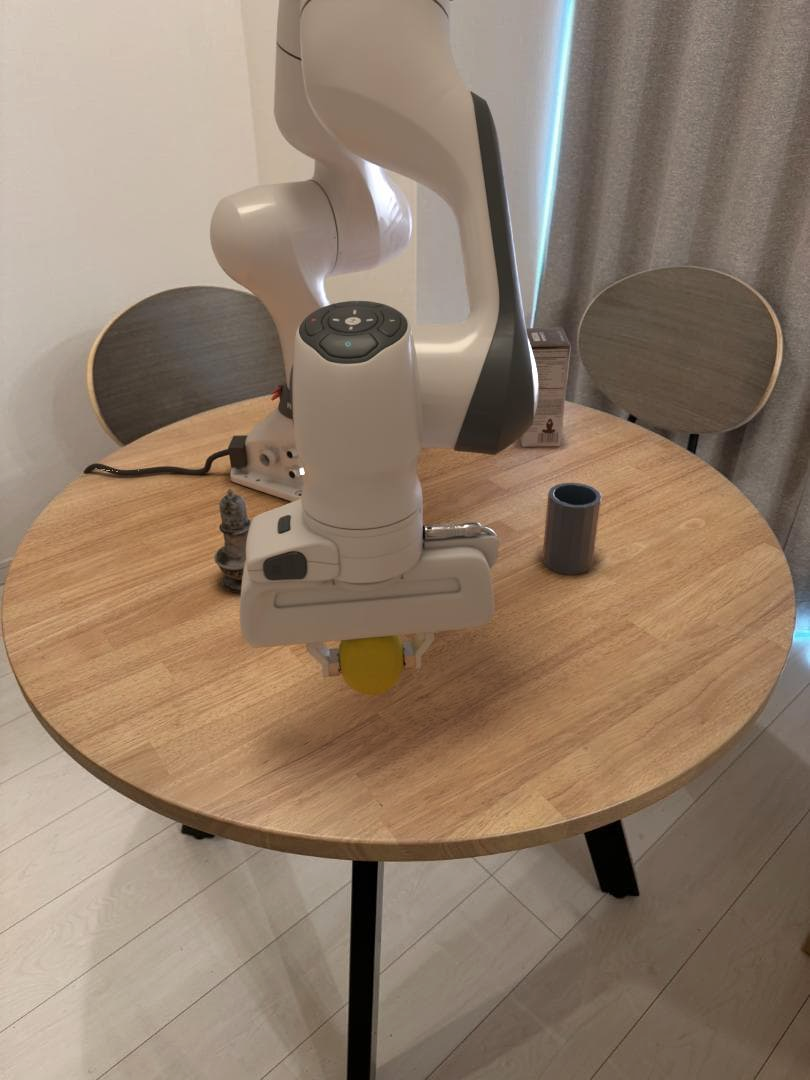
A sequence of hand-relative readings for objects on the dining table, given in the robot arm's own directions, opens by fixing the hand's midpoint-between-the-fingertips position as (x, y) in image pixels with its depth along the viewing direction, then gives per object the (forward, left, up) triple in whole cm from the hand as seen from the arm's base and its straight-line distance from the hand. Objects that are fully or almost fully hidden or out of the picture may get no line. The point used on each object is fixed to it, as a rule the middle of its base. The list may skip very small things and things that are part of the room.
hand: (371, 667), depth 63 cm
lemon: (0, 0, -3) cm, 3 cm away
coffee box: (-1, +66, -7) cm, 66 cm away
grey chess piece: (-23, +15, -7) cm, 28 cm away
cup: (+11, +32, -7) cm, 34 cm away
